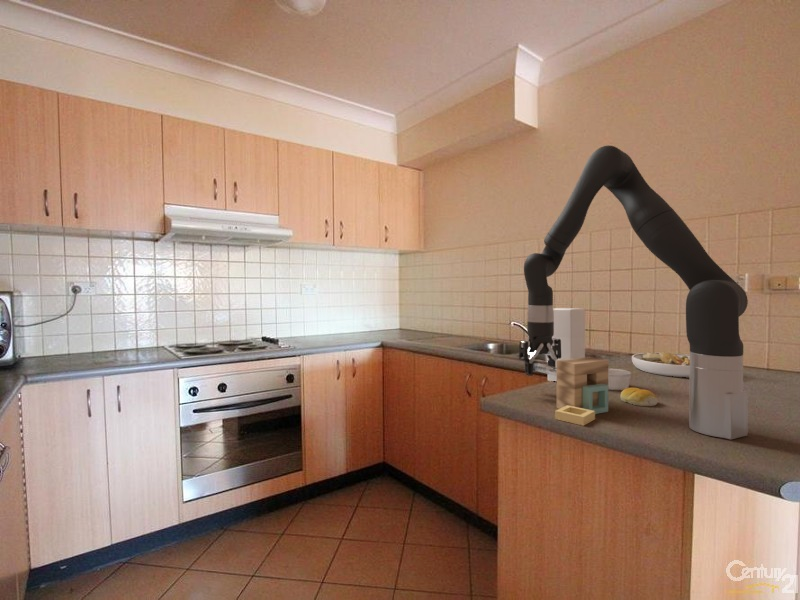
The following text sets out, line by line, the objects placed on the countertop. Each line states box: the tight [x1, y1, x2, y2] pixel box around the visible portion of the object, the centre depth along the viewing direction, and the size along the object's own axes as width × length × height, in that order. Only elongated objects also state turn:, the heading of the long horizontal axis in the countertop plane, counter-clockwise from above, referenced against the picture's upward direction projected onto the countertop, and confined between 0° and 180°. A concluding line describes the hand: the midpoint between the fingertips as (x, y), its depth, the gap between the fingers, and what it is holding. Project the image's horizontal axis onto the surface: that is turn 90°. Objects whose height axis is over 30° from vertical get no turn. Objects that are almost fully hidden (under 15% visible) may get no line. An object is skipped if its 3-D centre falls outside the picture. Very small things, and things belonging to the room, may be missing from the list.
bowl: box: [631, 351, 690, 379], centre depth 152 cm, size 30×30×8 cm
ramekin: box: [608, 367, 632, 391], centre depth 129 cm, size 11×11×5 cm
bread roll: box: [620, 387, 659, 407], centre depth 112 cm, size 8×9×4 cm
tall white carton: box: [547, 307, 586, 382], centre depth 137 cm, size 9×9×25 cm
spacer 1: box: [554, 405, 596, 427], centre depth 97 cm, size 7×7×2 cm
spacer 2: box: [583, 384, 609, 415], centre depth 102 cm, size 2×7×7 cm, turn 113°
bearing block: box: [556, 356, 609, 409], centre depth 106 cm, size 6×12×13 cm, turn 113°
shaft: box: [532, 359, 557, 376], centre depth 115 cm, size 19×3×3 cm, turn 23°
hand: (540, 374), depth 120 cm, fingers open, 8 cm apart
